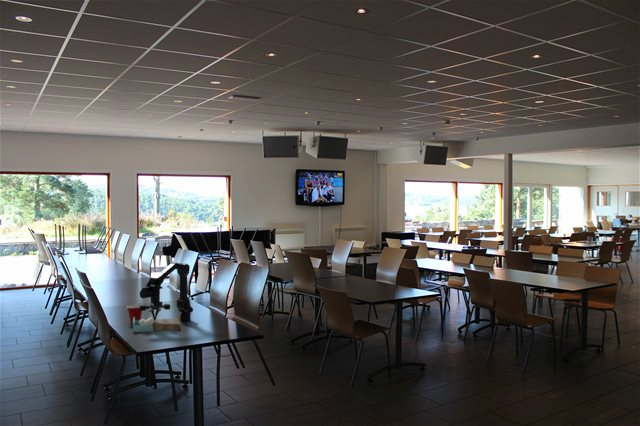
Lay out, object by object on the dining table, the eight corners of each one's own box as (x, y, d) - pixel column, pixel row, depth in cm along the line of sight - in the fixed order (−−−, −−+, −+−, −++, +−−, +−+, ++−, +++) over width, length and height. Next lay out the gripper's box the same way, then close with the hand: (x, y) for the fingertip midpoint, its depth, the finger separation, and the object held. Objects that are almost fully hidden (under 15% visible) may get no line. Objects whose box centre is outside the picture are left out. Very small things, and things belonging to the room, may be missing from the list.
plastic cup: (126, 321, 358) (126, 304, 358) (142, 320, 362) (143, 303, 362) (126, 325, 348) (126, 307, 348) (143, 324, 352) (144, 306, 351)
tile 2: (154, 320, 344) (152, 316, 343) (154, 321, 339) (152, 318, 339) (147, 324, 342) (145, 320, 342) (147, 326, 338) (145, 322, 337)
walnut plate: (177, 324, 354) (177, 318, 354) (179, 329, 339) (179, 323, 339) (152, 325, 349) (152, 319, 349) (153, 331, 334) (153, 324, 334)
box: (152, 325, 350) (152, 316, 350) (153, 331, 333) (153, 322, 333) (133, 326, 346) (133, 316, 346) (132, 332, 329) (133, 323, 329)
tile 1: (143, 318, 341) (139, 320, 341) (143, 319, 337) (139, 322, 336) (147, 324, 342) (143, 327, 342) (147, 326, 338) (143, 329, 337)
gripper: (139, 299, 331) (139, 324, 331) (170, 298, 337) (170, 322, 337) (139, 296, 341) (139, 320, 341) (169, 295, 347) (169, 318, 348)
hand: (154, 320), depth 342 cm, fingers closed
